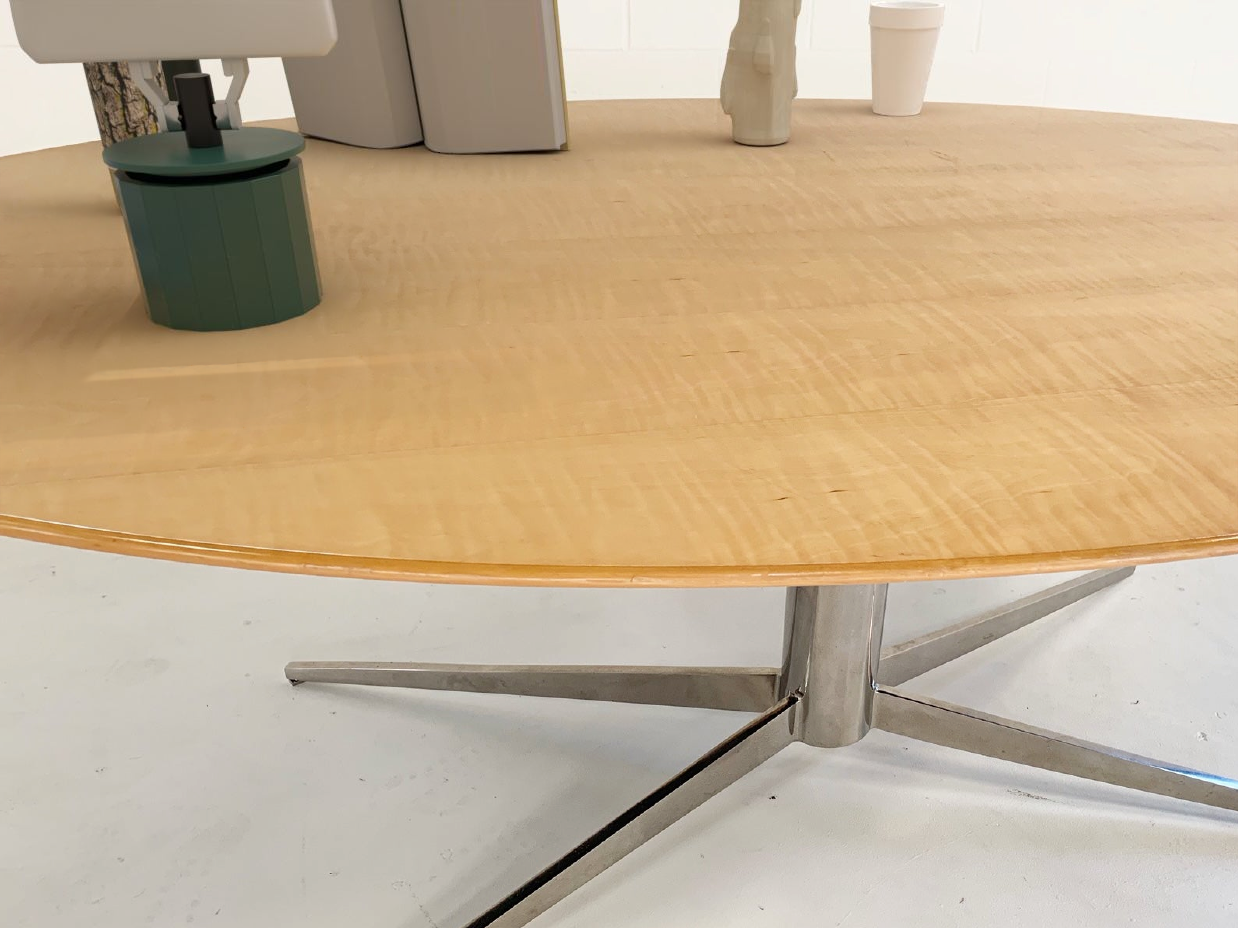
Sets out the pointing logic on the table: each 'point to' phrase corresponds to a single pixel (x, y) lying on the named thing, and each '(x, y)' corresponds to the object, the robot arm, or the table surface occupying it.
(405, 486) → the table surface
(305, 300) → the pot
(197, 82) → the lid
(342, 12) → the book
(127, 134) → the brown tall cylinder
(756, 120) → the vase
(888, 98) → the foam cup
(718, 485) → the table surface
